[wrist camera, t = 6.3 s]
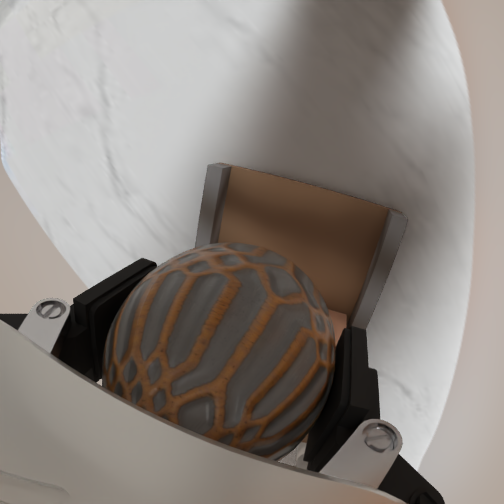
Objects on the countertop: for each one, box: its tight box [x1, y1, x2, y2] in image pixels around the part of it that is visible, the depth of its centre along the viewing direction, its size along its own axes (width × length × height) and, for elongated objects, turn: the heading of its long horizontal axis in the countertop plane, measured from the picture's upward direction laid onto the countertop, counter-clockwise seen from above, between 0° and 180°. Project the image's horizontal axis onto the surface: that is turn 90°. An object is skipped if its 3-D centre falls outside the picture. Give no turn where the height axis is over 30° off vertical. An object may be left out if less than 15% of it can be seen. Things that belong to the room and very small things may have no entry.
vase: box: [102, 242, 336, 462], centre depth 9 cm, size 7×7×9 cm
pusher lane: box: [195, 163, 408, 443], centre depth 24 cm, size 19×15×8 cm
